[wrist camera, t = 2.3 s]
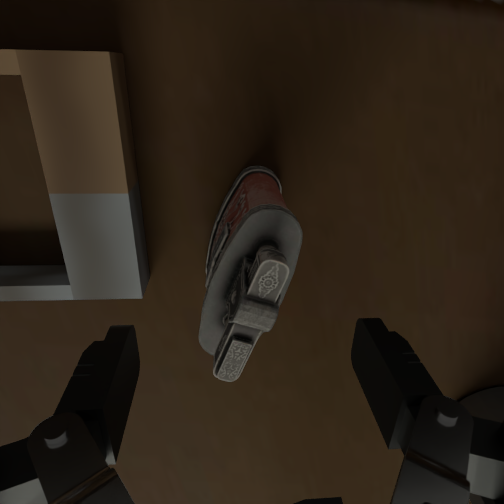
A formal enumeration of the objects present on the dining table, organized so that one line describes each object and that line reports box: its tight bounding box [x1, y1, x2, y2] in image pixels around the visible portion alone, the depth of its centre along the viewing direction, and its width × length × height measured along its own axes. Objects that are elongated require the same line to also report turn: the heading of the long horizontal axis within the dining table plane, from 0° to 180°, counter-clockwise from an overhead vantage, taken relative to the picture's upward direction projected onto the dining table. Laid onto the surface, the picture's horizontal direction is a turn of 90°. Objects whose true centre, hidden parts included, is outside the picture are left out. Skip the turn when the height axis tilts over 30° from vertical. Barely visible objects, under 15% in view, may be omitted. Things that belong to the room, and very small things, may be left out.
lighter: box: [199, 166, 302, 382], centre depth 19 cm, size 8×3×10 cm, turn 159°
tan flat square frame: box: [0, 49, 150, 301], centre depth 20 cm, size 14×13×2 cm
